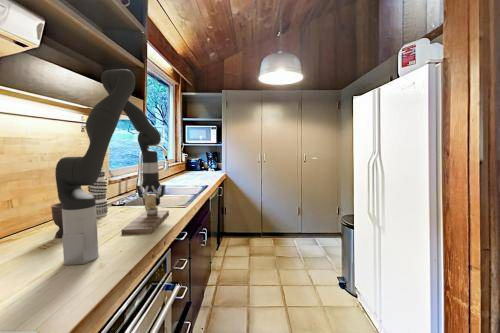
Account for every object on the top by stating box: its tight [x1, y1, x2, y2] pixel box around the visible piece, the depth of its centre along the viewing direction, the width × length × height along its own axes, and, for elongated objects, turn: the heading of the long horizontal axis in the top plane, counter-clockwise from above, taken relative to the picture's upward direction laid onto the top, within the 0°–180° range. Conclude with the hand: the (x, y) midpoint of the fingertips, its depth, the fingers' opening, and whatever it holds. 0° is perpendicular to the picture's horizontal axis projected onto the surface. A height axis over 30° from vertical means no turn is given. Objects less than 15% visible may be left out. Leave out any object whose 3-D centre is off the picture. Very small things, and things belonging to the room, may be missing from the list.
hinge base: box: [120, 206, 170, 235], centre depth 128 cm, size 32×12×11 cm, turn 4°
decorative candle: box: [87, 167, 109, 218], centre depth 143 cm, size 9×9×25 cm
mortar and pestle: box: [50, 202, 64, 239], centre depth 111 cm, size 12×9×20 cm
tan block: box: [144, 193, 160, 211], centre depth 132 cm, size 11×5×6 cm, turn 4°
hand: (151, 205), depth 135 cm, fingers closed on tan block, 5 cm apart
